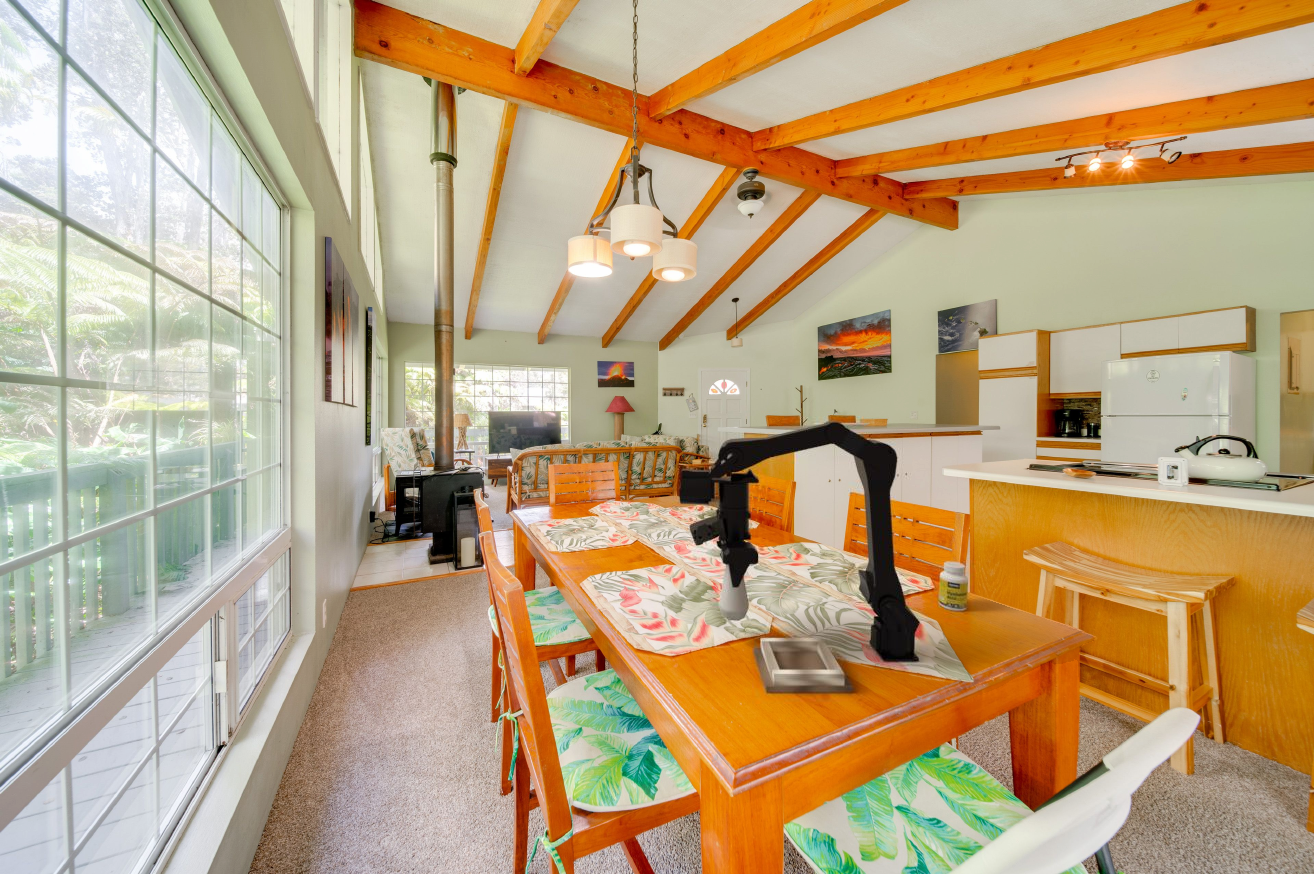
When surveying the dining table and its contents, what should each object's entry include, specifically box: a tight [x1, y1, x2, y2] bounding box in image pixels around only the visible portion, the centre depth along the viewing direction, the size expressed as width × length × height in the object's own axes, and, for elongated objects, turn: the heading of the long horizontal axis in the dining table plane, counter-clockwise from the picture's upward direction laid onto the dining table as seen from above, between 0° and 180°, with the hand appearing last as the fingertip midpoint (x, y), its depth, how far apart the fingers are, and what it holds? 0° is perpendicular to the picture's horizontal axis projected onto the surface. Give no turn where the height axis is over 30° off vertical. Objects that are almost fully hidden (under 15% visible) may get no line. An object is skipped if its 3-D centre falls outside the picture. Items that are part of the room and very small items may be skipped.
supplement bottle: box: [938, 561, 969, 612], centre depth 106 cm, size 5×5×10 cm
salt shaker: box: [718, 564, 750, 622], centre depth 92 cm, size 6×6×13 cm
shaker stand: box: [752, 637, 854, 694], centre depth 82 cm, size 14×12×3 cm
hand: (734, 583), depth 92 cm, fingers closed on salt shaker, 3 cm apart
